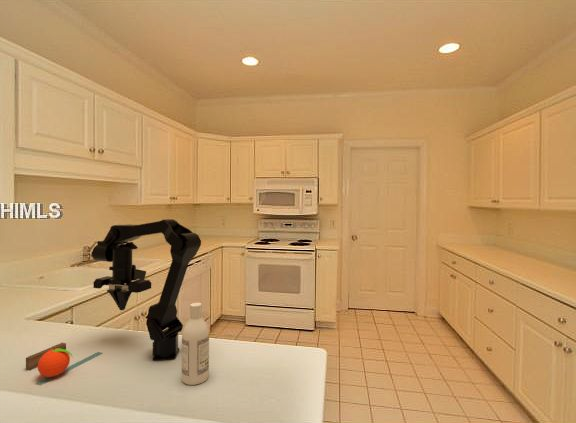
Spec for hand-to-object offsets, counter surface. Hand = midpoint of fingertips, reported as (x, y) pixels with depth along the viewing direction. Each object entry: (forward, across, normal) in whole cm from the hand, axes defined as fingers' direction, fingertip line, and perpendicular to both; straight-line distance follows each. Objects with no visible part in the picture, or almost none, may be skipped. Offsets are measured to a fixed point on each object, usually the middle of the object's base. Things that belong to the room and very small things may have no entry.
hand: (122, 310), depth 98 cm
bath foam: (+12, -34, +8) cm, 37 cm away
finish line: (+12, +3, +15) cm, 19 cm away
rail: (+12, +13, +15) cm, 23 cm away
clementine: (+12, +3, +19) cm, 23 cm away
